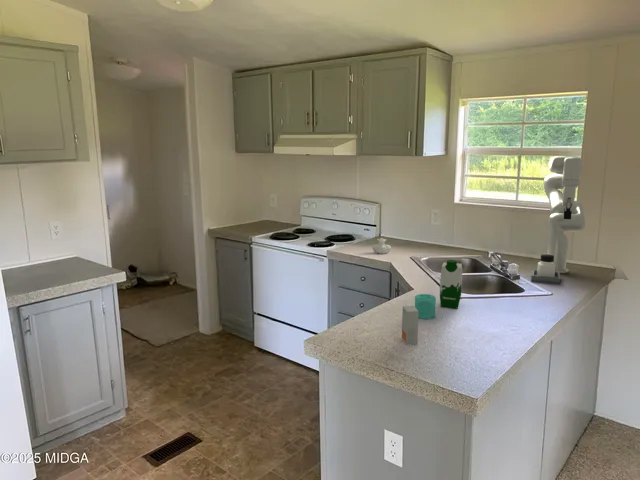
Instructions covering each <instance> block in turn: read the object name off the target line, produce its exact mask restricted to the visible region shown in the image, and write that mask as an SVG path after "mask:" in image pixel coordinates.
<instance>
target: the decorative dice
mask: <svg viewBox="0 0 640 480" xmlns="http://www.w3.org/2000/svg"><path fill="white" fill-rule="evenodd" d="M436 303H437V301H436V296H434V295H432V294H429V293H420V294H416V295H415V296H414V307H415V308H416V309H417V310H418V319H422V320H431V319H434V318H436V308H437V306H436Z"/></svg>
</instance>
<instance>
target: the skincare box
mask: <svg viewBox="0 0 640 480" xmlns="http://www.w3.org/2000/svg"><path fill="white" fill-rule="evenodd" d="M401 318H402V320H401V324H402V325H401V339H402V340H403V342H404V344H405V345H417V344H418V336H419V334H418V333H419V318H418V310H417V309H416V308H415V305H403V306H402V317H401Z"/></svg>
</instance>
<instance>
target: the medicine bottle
mask: <svg viewBox="0 0 640 480" xmlns="http://www.w3.org/2000/svg"><path fill="white" fill-rule="evenodd" d="M539 260H540V261H539V262H537V268H536V270H537V276H547V277H555V268H556V266H555V265H554V264H553V262H554V256H553V255H551V254H547V253H543V254H541V255H540V259H539Z"/></svg>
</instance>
